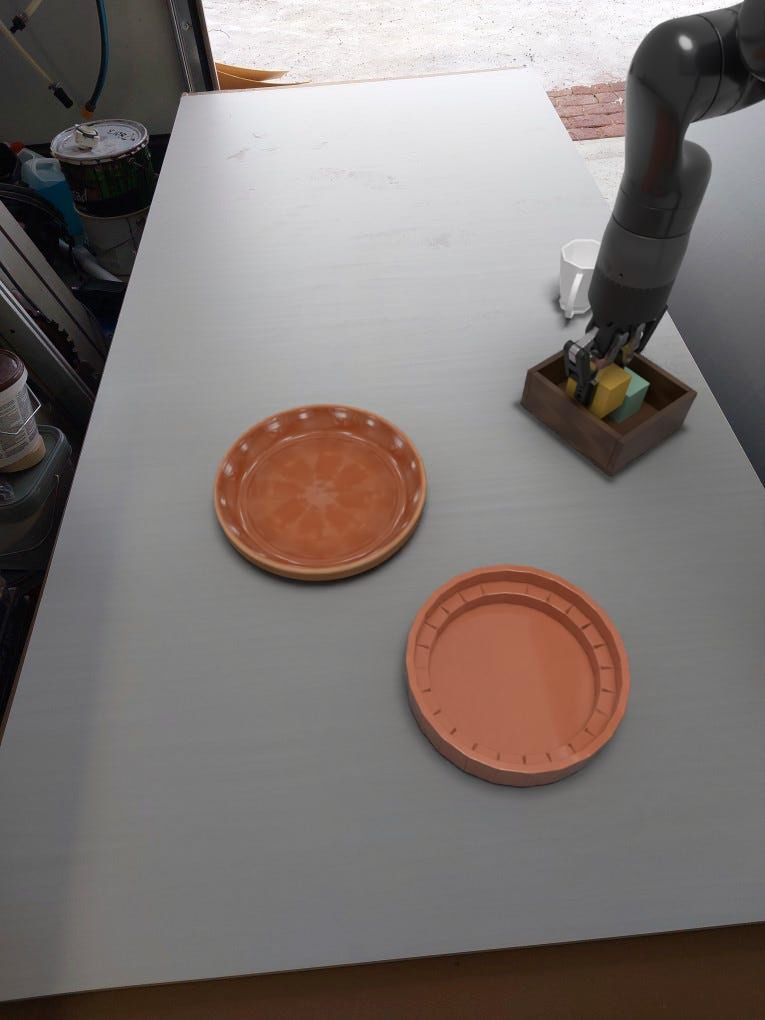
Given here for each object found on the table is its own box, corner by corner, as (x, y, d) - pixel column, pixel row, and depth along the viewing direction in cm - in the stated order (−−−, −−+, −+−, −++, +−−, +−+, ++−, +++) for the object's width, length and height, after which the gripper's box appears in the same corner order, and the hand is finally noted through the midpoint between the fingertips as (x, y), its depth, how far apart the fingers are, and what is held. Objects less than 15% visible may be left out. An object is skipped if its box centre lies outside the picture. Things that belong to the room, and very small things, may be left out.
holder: (681, 426, 83) (698, 392, 78) (610, 476, 78) (623, 443, 74) (590, 361, 90) (601, 326, 85) (520, 404, 85) (527, 370, 81)
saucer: (467, 498, 77) (470, 477, 74) (315, 632, 67) (311, 614, 64) (328, 397, 86) (326, 375, 83) (178, 501, 77) (169, 481, 74)
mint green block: (639, 410, 83) (650, 383, 80) (618, 424, 82) (629, 396, 79) (604, 385, 86) (613, 358, 82) (584, 398, 85) (593, 370, 81)
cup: (604, 295, 98) (620, 244, 91) (589, 339, 92) (603, 287, 86) (556, 284, 99) (567, 233, 93) (537, 326, 94) (548, 275, 87)
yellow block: (621, 405, 79) (632, 375, 75) (600, 419, 78) (610, 390, 74) (586, 378, 82) (594, 349, 78) (564, 392, 80) (572, 362, 77)
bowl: (661, 697, 63) (677, 678, 59) (505, 837, 56) (513, 825, 53) (513, 555, 72) (519, 531, 69) (364, 661, 65) (362, 640, 62)
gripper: (617, 310, 61) (576, 441, 75) (718, 252, 66) (661, 385, 80) (556, 270, 64) (527, 402, 78) (655, 218, 69) (612, 350, 83)
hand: (595, 393), depth 79 cm, fingers closed on yellow block, 3 cm apart
